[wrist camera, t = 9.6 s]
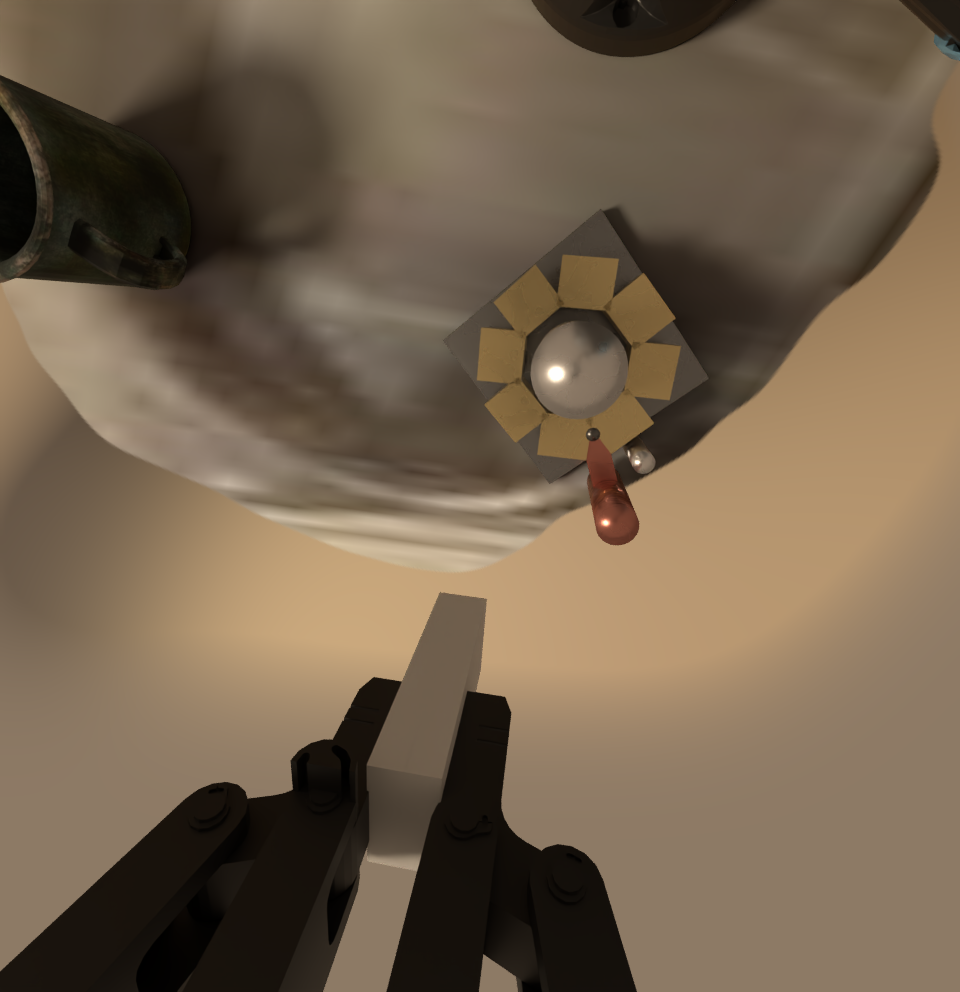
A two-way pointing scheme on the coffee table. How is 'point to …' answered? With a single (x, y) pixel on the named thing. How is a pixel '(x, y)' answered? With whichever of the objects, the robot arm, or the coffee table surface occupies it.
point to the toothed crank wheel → (599, 436)
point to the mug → (85, 198)
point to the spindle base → (551, 268)
